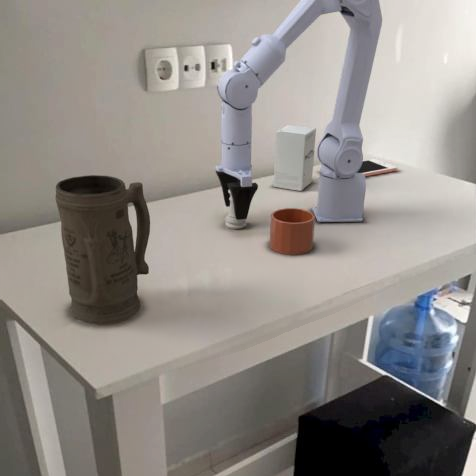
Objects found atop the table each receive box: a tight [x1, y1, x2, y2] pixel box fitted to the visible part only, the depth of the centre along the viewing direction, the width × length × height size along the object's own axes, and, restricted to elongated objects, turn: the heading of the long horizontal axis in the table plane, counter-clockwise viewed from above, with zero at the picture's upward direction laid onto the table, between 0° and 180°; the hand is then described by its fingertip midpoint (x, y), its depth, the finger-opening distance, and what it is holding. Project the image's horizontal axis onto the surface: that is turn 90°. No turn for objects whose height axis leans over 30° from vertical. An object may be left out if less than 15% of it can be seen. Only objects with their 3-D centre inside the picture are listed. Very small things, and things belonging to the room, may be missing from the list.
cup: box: [269, 207, 316, 256], centre depth 119 cm, size 8×8×6 cm
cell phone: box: [357, 158, 398, 177], centre depth 159 cm, size 9×18×1 cm, turn 120°
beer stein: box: [55, 174, 151, 325], centre depth 96 cm, size 15×11×20 cm
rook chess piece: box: [224, 189, 248, 230], centre depth 127 cm, size 4×4×8 cm
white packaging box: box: [273, 124, 317, 192], centre depth 147 cm, size 7×7×13 cm
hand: (235, 212), depth 128 cm, fingers open, 7 cm apart
